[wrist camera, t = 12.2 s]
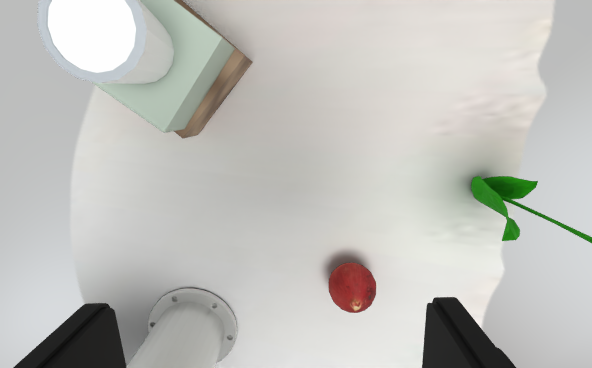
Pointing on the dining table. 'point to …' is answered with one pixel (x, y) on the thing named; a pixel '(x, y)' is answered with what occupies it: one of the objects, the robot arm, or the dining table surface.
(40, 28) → the white cup
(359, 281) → the onion
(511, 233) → the flower
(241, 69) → the tower base block
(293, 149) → the dining table surface
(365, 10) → the dining table surface
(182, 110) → the tower top block
